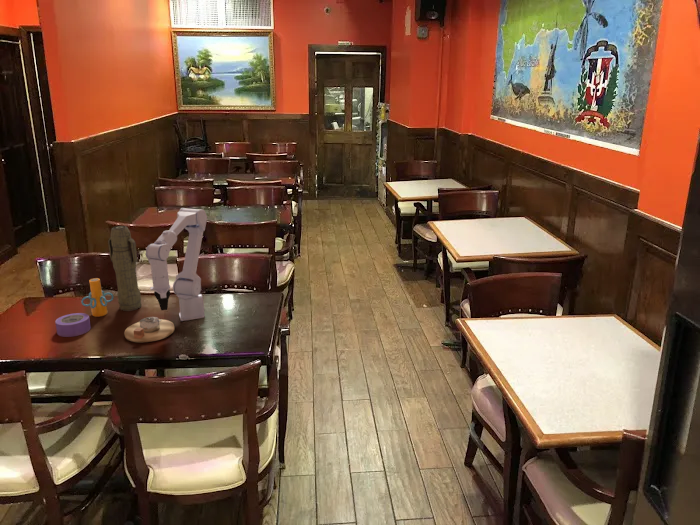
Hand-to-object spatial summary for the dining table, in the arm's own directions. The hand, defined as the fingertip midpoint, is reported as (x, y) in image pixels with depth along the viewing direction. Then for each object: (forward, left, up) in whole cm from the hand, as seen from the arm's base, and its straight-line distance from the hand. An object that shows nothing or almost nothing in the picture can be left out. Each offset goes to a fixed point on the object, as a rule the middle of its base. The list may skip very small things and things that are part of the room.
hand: (164, 309), depth 212 cm
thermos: (+12, -32, -10) cm, 35 cm away
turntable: (+6, -2, -9) cm, 11 cm away
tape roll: (+33, -16, -10) cm, 38 cm away
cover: (+6, -2, -8) cm, 10 cm away
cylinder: (+24, -29, -10) cm, 39 cm away
